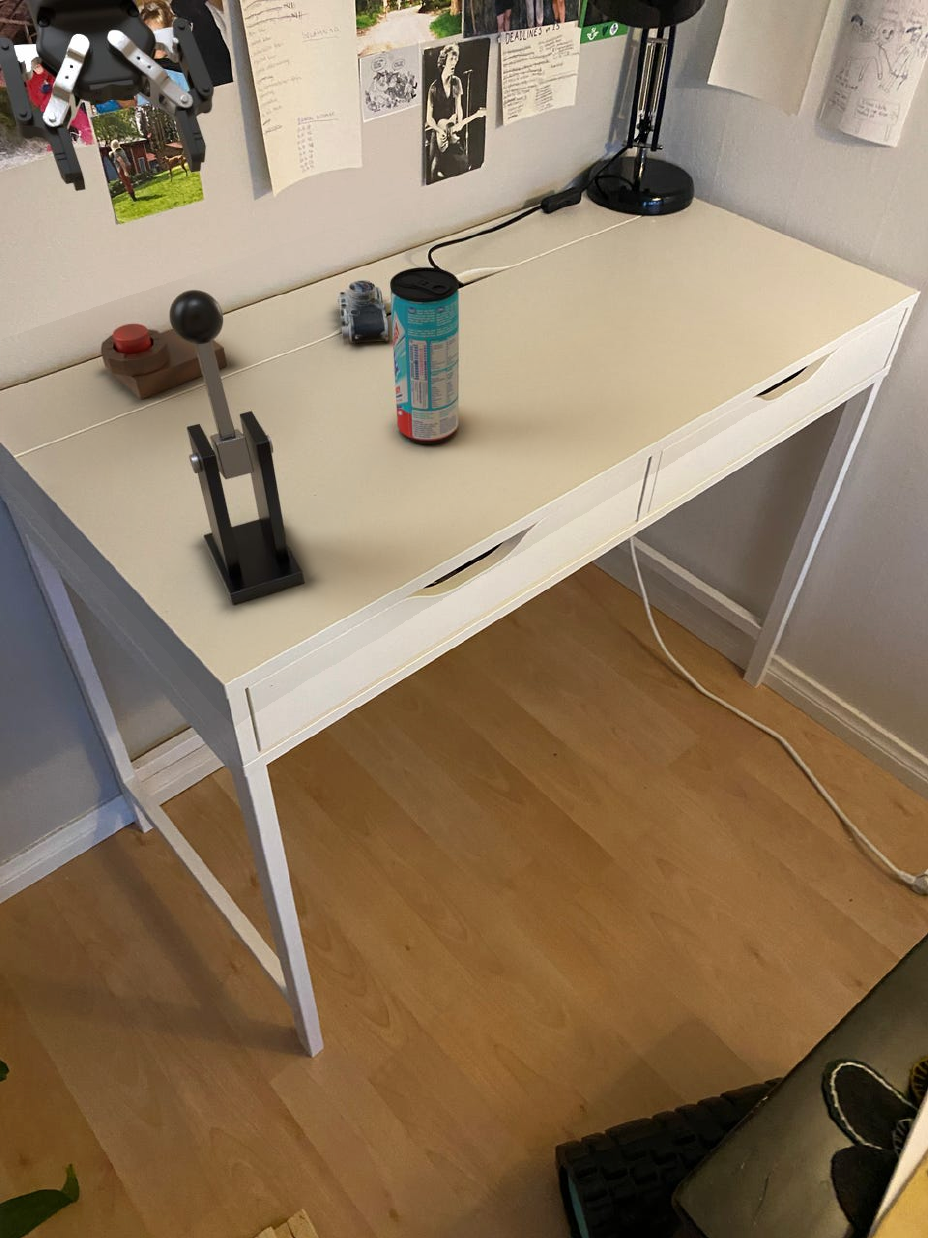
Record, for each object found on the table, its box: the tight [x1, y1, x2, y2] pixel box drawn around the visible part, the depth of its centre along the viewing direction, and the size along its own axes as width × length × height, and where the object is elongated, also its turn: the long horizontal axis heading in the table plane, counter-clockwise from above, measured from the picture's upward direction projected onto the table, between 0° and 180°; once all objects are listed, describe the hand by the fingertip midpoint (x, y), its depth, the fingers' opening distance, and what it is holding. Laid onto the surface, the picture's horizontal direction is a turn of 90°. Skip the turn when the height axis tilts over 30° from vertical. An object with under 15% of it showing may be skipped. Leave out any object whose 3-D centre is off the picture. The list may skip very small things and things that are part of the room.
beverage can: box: [389, 266, 460, 445], centre depth 87 cm, size 6×6×15 cm
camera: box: [337, 279, 390, 344], centre depth 106 cm, size 5×10×4 cm, turn 8°
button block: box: [100, 328, 228, 400], centre depth 99 cm, size 11×7×4 cm, turn 131°
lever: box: [168, 289, 254, 480], centre depth 68 cm, size 13×4×4 cm
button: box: [112, 323, 151, 354], centre depth 96 cm, size 3×3×2 cm
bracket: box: [186, 410, 305, 605], centre depth 74 cm, size 8×6×13 cm
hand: (139, 175), depth 70 cm, fingers open, 8 cm apart
